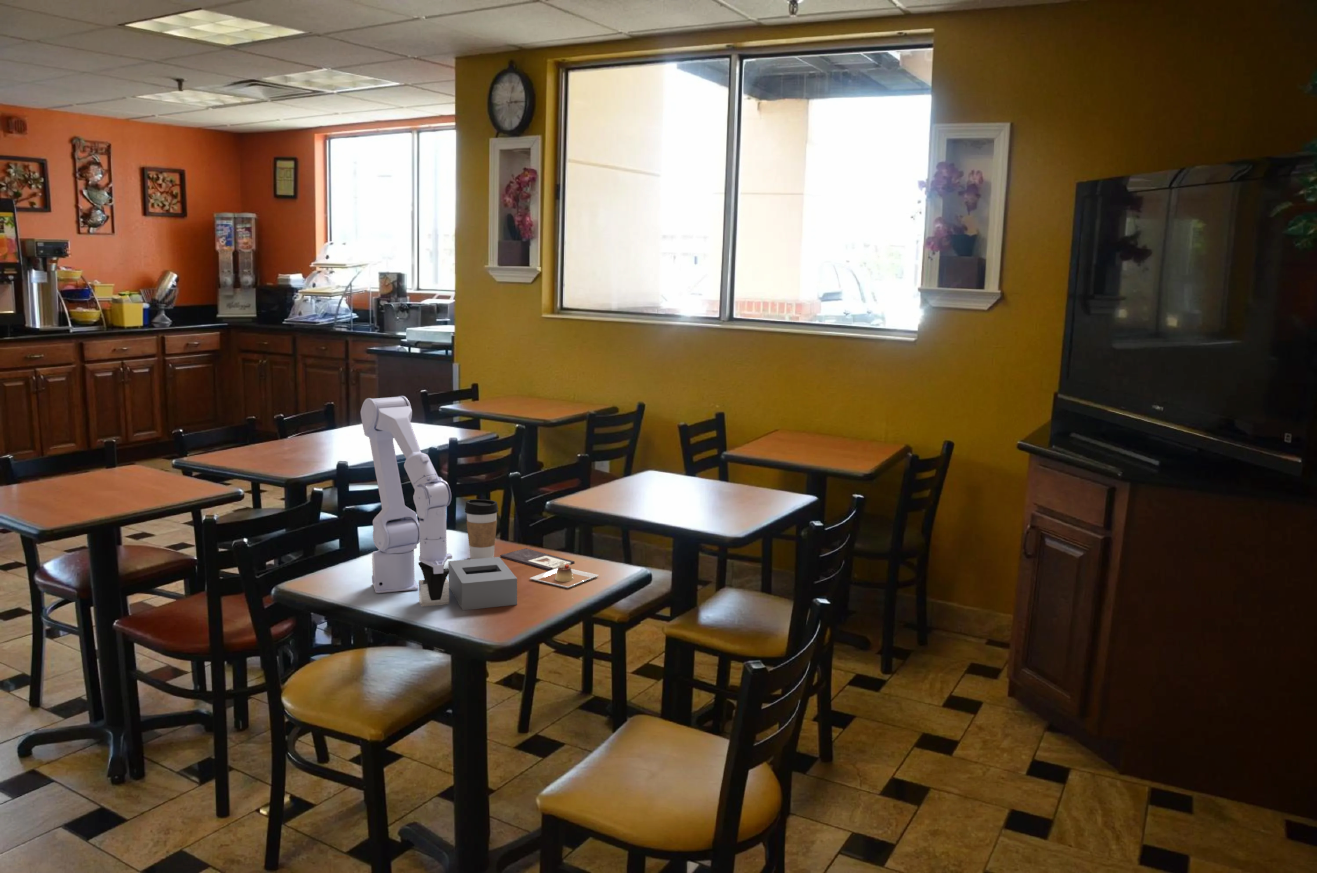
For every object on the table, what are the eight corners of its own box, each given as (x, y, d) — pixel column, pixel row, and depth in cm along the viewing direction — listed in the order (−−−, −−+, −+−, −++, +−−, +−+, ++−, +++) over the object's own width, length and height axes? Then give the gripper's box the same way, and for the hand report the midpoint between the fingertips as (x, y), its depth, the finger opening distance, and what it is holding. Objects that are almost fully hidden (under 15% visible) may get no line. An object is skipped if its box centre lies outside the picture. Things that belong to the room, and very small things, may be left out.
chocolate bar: (526, 548, 261) (574, 561, 249) (526, 551, 261) (574, 564, 250) (500, 555, 254) (548, 568, 243) (500, 558, 254) (548, 572, 243)
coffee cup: (464, 554, 256) (463, 498, 253) (497, 553, 258) (497, 497, 255) (466, 563, 248) (465, 505, 245) (500, 561, 250) (499, 504, 247)
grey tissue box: (462, 610, 212) (462, 583, 211) (448, 586, 229) (448, 561, 228) (517, 604, 217) (517, 578, 216) (499, 581, 233) (499, 556, 232)
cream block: (421, 607, 214) (421, 584, 214) (419, 602, 218) (418, 580, 217) (449, 604, 216) (448, 582, 216) (446, 599, 220) (446, 577, 219)
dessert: (599, 579, 238) (599, 560, 237) (568, 591, 228) (568, 571, 227) (560, 570, 245) (560, 552, 244) (528, 582, 235) (528, 563, 234)
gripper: (457, 543, 209) (458, 604, 212) (446, 527, 223) (446, 585, 225) (423, 546, 207) (424, 608, 209) (414, 529, 220) (415, 588, 222)
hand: (434, 596), depth 217 cm, fingers open, 4 cm apart
